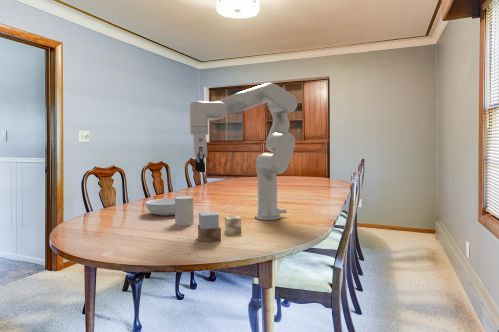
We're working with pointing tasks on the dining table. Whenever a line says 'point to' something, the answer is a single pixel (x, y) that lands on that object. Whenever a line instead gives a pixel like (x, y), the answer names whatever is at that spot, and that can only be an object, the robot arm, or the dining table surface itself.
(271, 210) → the robot arm
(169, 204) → the serving bowl
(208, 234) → the walnut block
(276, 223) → the dining table surface
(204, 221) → the grey block
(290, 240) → the dining table surface
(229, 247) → the dining table surface
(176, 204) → the cup
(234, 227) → the maple cube
